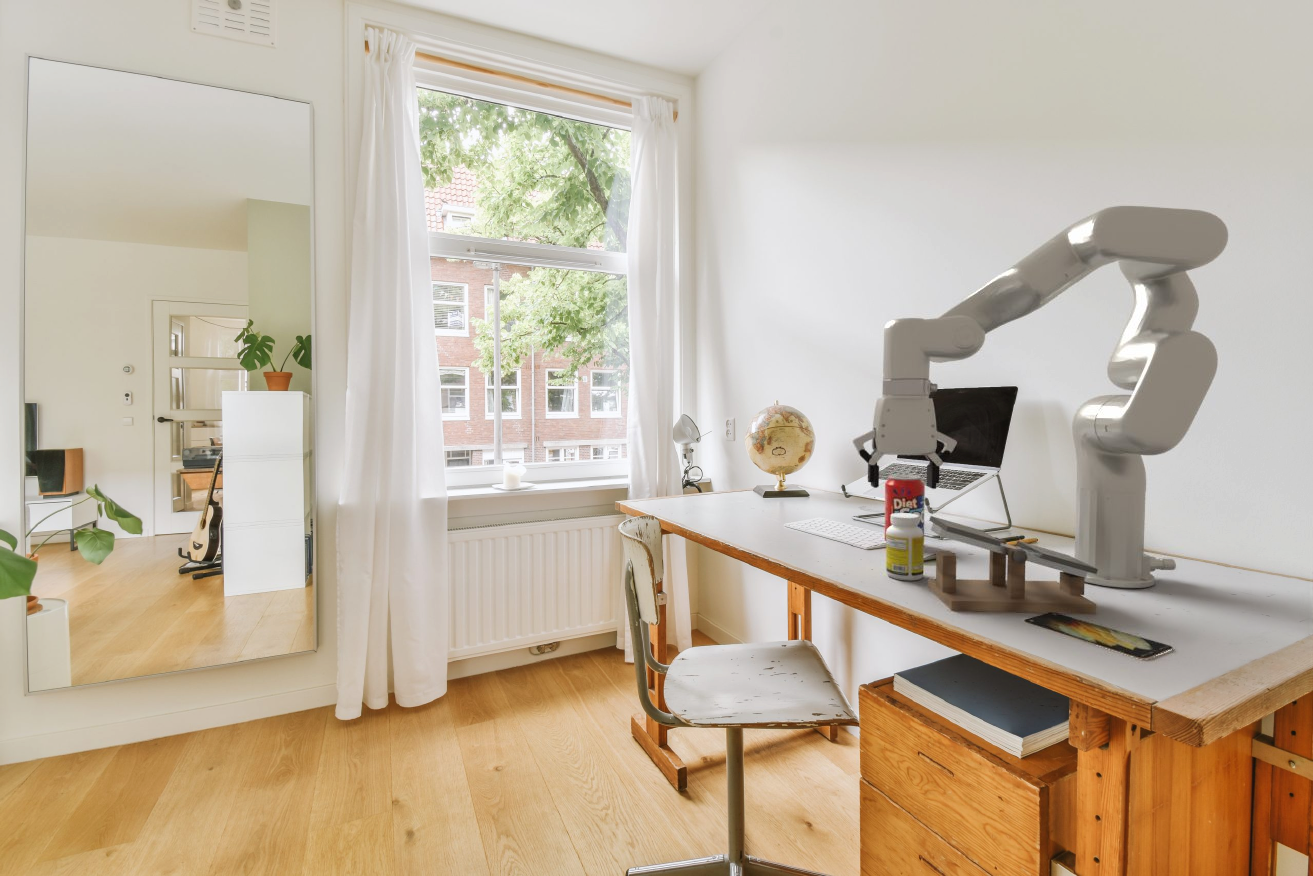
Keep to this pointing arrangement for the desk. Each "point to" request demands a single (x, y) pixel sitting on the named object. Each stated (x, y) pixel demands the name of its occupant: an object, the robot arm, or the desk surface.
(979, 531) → the beam
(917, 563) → the pill bottle
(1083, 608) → the stand
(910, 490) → the soda can
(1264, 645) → the desk surface
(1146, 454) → the robot arm
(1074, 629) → the smartphone
